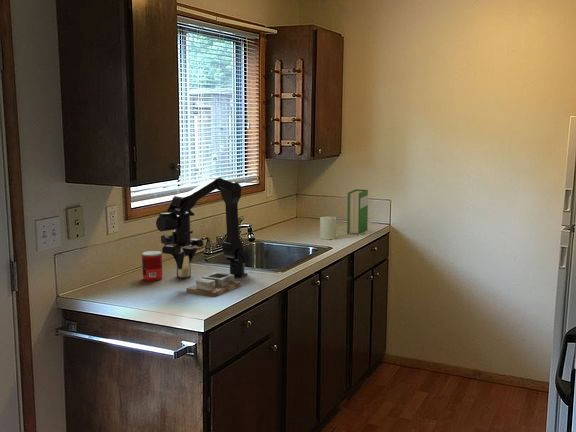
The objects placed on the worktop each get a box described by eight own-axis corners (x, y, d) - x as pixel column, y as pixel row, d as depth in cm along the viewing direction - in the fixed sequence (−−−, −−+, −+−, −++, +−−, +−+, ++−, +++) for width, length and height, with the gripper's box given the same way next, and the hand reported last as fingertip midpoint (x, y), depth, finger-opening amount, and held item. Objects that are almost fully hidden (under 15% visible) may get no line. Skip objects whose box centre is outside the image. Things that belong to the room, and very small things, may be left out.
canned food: (166, 278, 263) (165, 252, 261) (152, 282, 256) (151, 255, 254) (153, 275, 267) (152, 250, 265) (138, 279, 260) (137, 253, 259)
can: (331, 240, 344) (331, 218, 342) (316, 238, 349) (316, 217, 347) (339, 237, 352) (339, 216, 350) (324, 236, 356) (324, 215, 355)
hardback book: (359, 235, 359) (360, 193, 356) (347, 234, 362) (347, 192, 358) (367, 230, 376) (368, 189, 372) (355, 229, 378) (355, 189, 375)
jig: (213, 281, 257) (213, 270, 256) (240, 285, 251) (240, 274, 250) (186, 292, 241) (186, 280, 240) (214, 296, 235) (214, 284, 234)
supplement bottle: (184, 274, 269) (183, 248, 268) (193, 276, 266) (193, 249, 264) (173, 276, 265) (172, 250, 263) (183, 279, 261) (182, 252, 259)
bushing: (182, 273, 248) (182, 253, 247) (191, 275, 246) (191, 254, 245) (175, 276, 245) (175, 255, 243) (185, 277, 243) (184, 257, 241)
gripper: (181, 223, 255) (182, 261, 257) (150, 230, 238) (151, 270, 241) (203, 225, 249) (204, 264, 252) (173, 232, 233) (174, 274, 236)
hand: (183, 267), depth 245 cm, fingers closed on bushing, 4 cm apart
